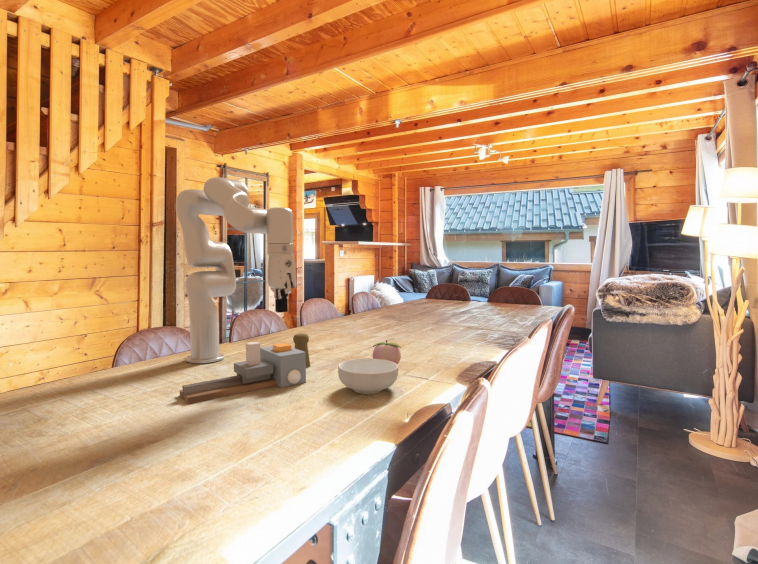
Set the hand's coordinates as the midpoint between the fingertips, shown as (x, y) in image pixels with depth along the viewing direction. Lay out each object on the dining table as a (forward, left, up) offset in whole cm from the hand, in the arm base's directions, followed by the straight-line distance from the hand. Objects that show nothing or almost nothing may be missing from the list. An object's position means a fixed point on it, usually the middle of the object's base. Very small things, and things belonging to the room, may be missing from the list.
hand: (281, 311), depth 128 cm
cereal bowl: (+24, +14, -21) cm, 35 cm away
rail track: (0, -16, -21) cm, 26 cm away
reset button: (0, 0, -14) cm, 14 cm away
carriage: (0, -9, -19) cm, 21 cm away
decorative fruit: (+12, +31, -21) cm, 39 cm away
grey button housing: (0, 0, -21) cm, 21 cm away
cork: (-10, +12, -21) cm, 26 cm away
